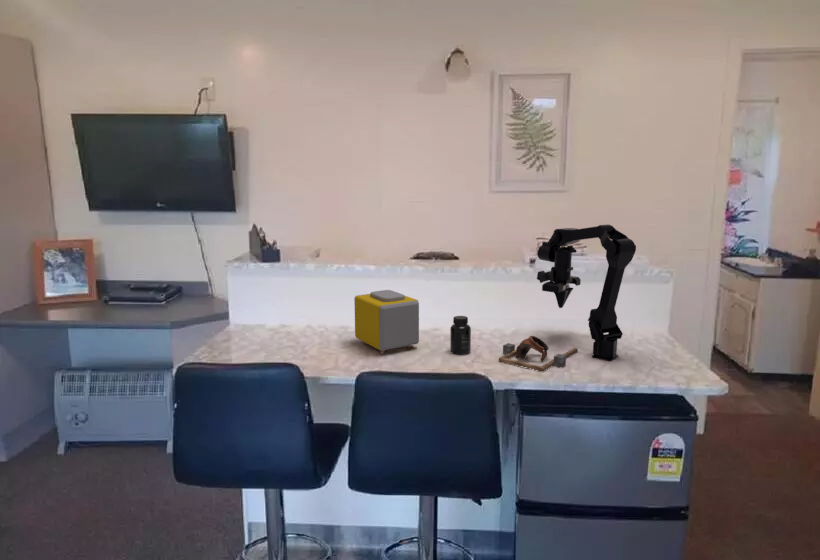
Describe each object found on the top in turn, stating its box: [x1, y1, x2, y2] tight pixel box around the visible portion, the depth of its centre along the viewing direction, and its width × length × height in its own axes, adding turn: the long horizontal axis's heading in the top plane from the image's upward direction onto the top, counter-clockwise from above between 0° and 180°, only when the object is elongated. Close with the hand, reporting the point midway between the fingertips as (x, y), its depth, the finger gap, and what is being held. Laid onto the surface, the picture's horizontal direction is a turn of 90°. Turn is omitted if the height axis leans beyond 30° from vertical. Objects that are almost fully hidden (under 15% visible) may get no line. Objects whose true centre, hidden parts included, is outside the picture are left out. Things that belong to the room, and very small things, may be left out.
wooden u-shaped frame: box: [498, 342, 578, 372], centre depth 196 cm, size 21×25×3 cm
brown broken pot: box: [515, 335, 550, 362], centre depth 193 cm, size 12×10×8 cm
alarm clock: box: [353, 289, 420, 354], centre depth 207 cm, size 20×16×18 cm
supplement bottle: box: [449, 315, 472, 356], centre depth 200 cm, size 7×7×12 cm
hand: (560, 307), depth 212 cm, fingers closed
